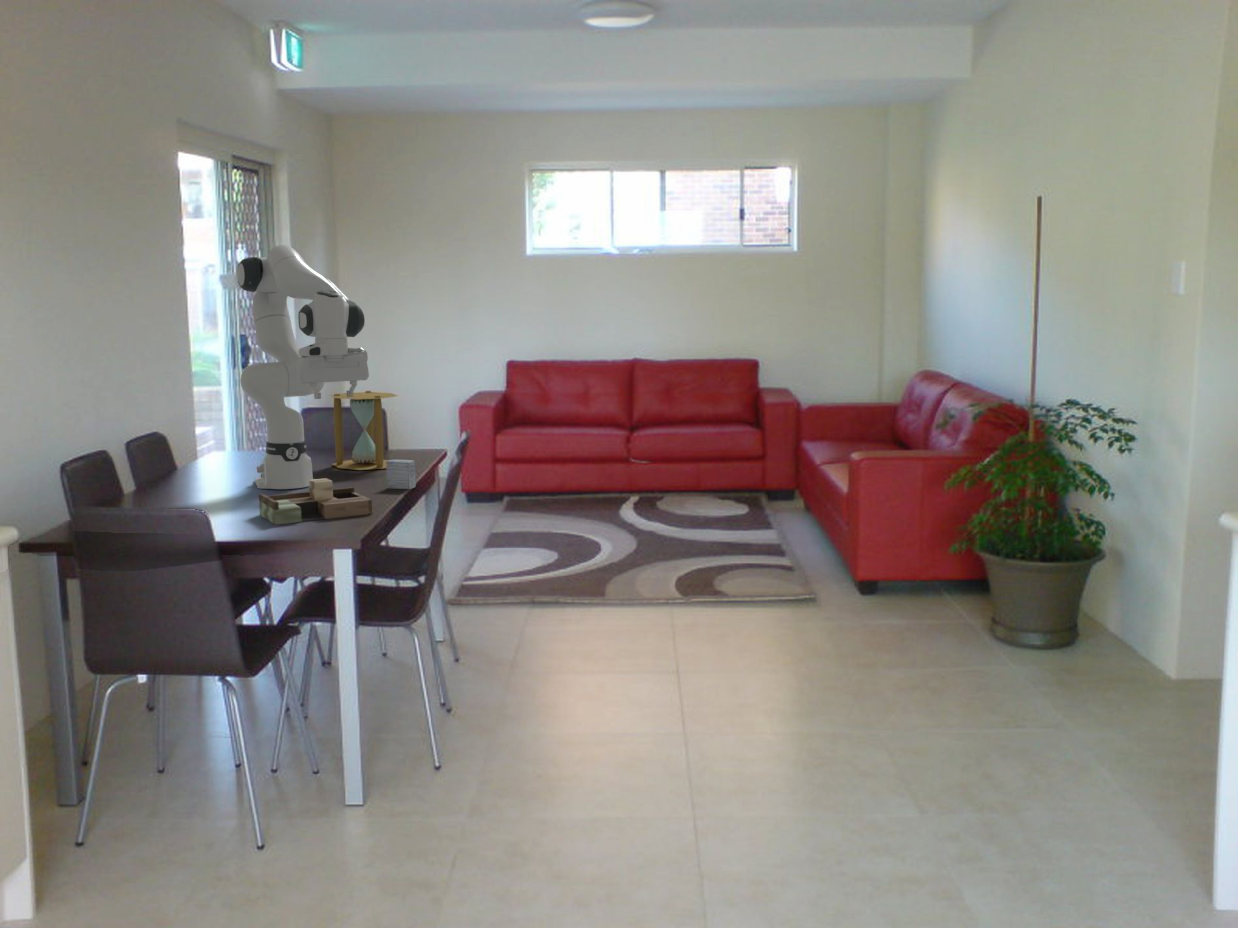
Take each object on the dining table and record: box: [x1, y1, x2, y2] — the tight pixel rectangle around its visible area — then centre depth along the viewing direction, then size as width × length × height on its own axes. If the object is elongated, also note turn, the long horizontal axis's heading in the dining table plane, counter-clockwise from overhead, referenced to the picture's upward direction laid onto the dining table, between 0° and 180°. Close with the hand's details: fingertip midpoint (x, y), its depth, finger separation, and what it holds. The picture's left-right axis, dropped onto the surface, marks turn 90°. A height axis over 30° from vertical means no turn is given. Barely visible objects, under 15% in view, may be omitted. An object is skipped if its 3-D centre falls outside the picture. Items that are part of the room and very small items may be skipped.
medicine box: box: [385, 459, 417, 490], centre depth 369 cm, size 8×4×9 cm, turn 74°
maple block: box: [308, 477, 334, 500], centre depth 332 cm, size 5×5×5 cm
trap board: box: [258, 487, 373, 526], centre depth 330 cm, size 15×27×6 cm, turn 122°
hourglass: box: [329, 390, 399, 471], centre depth 410 cm, size 24×22×25 cm
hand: (334, 398), depth 336 cm, fingers open, 8 cm apart
